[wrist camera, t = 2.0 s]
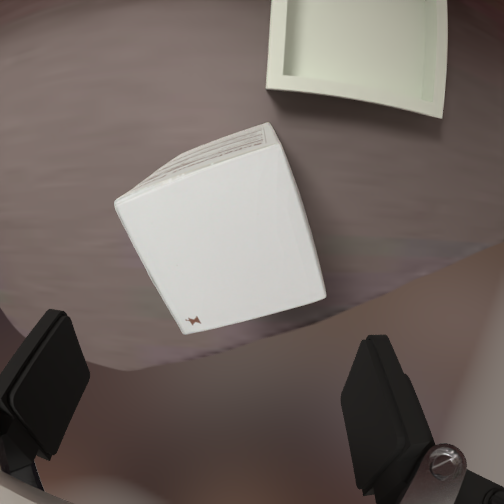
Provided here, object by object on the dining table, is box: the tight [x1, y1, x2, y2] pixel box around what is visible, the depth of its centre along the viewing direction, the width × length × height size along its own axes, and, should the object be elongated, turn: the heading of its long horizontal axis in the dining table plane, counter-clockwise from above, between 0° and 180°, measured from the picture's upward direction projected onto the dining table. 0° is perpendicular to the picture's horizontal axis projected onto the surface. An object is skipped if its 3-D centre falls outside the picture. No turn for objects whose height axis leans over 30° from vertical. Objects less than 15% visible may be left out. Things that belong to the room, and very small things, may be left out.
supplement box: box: [114, 122, 326, 335], centre depth 18 cm, size 7×7×13 cm
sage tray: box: [266, 0, 448, 119], centre depth 17 cm, size 13×13×2 cm
